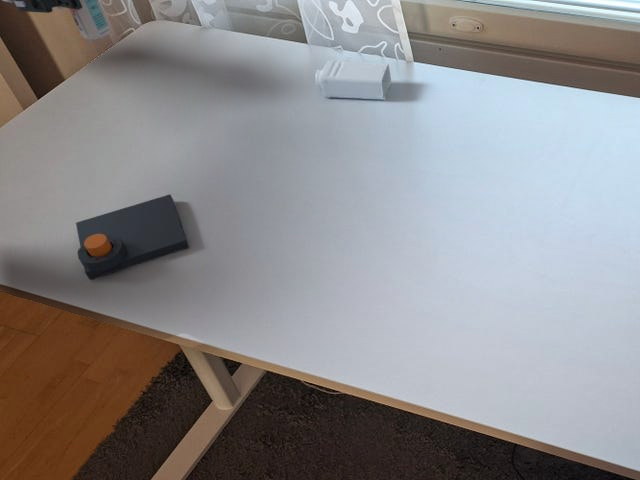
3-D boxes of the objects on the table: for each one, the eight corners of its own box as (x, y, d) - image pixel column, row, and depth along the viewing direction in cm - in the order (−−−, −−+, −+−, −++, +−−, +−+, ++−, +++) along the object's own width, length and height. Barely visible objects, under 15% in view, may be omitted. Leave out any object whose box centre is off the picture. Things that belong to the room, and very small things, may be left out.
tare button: (91, 260, 94) (85, 250, 93) (88, 247, 96) (82, 237, 94) (113, 253, 95) (107, 243, 93) (110, 240, 96) (104, 231, 95)
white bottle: (324, 80, 127) (319, 58, 123) (391, 82, 125) (388, 60, 122) (314, 99, 123) (309, 77, 119) (384, 102, 121) (380, 79, 118)
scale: (90, 283, 95) (79, 268, 92) (80, 229, 102) (70, 214, 100) (190, 251, 98) (183, 235, 96) (173, 201, 106) (166, 185, 103)
